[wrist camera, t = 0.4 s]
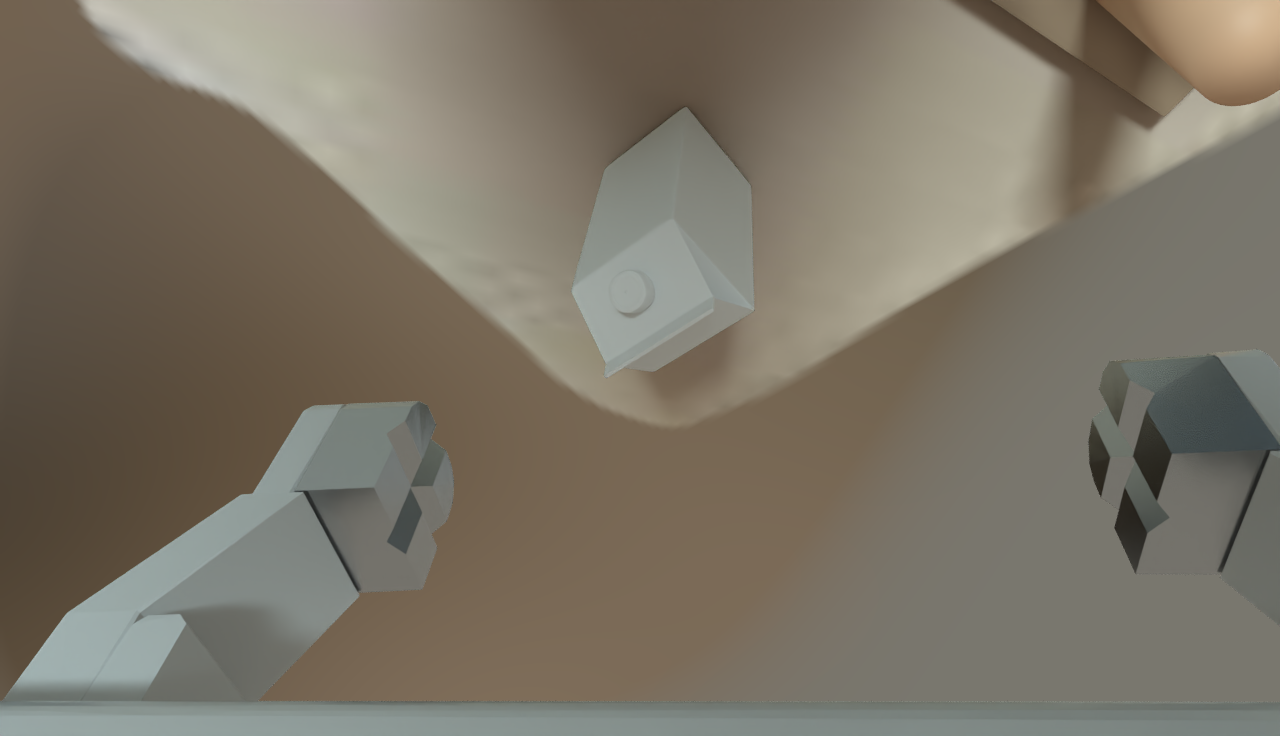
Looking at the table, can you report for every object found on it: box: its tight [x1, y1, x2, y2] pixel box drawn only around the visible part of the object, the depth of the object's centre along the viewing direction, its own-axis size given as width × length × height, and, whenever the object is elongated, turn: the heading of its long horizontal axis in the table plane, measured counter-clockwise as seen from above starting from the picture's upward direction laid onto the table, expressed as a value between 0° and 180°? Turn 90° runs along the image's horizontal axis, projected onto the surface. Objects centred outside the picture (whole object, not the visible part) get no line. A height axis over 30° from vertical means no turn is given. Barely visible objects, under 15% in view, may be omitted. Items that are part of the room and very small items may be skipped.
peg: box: [1096, 0, 1280, 106], centre depth 41 cm, size 4×4×14 cm
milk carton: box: [571, 107, 755, 378], centre depth 51 cm, size 7×7×19 cm
